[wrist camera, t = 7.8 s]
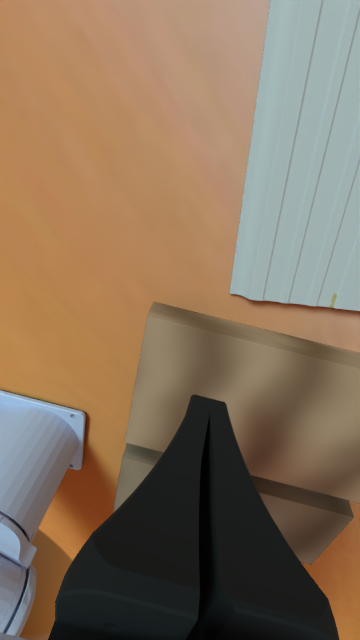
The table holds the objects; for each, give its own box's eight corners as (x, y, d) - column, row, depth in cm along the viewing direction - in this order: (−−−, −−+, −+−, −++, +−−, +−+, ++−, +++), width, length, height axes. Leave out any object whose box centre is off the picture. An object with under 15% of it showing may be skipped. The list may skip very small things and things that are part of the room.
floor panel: (118, 493, 34) (112, 512, 32) (131, 426, 28) (124, 445, 27) (307, 542, 33) (311, 564, 32) (355, 484, 28) (363, 507, 26)
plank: (131, 423, 28) (124, 442, 26) (153, 301, 22) (147, 315, 20) (359, 482, 28) (367, 505, 26) (445, 374, 22) (463, 394, 20)
